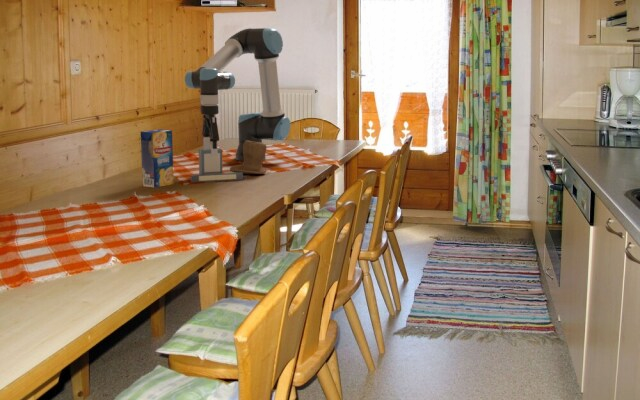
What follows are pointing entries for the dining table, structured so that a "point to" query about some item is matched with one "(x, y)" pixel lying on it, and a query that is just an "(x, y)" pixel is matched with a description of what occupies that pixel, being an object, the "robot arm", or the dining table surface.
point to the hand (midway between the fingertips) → (210, 154)
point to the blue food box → (157, 158)
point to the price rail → (216, 177)
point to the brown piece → (251, 158)
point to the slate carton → (210, 162)
